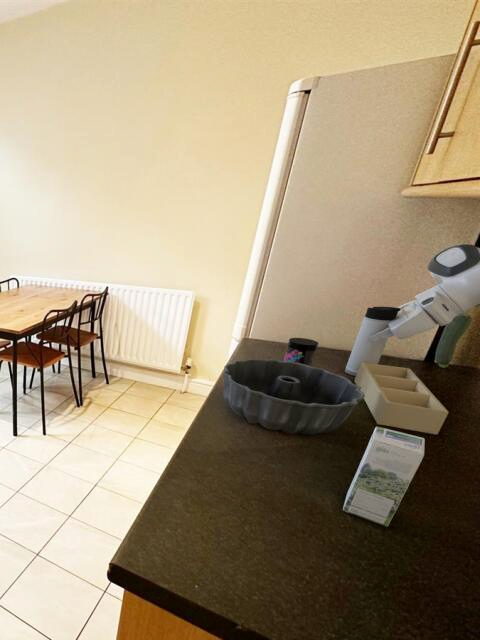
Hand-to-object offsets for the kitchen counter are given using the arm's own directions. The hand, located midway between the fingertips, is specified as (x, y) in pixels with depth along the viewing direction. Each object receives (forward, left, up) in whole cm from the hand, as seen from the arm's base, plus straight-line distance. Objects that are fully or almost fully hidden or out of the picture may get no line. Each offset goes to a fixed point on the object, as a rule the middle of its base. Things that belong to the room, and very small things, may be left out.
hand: (370, 336), depth 116 cm
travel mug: (-1, 0, -12) cm, 12 cm away
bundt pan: (+20, +41, -12) cm, 47 cm away
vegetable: (-22, -18, -12) cm, 30 cm away
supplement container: (+15, +9, -12) cm, 21 cm away
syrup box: (+9, +73, -12) cm, 75 cm away
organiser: (-4, +20, -12) cm, 24 cm away
